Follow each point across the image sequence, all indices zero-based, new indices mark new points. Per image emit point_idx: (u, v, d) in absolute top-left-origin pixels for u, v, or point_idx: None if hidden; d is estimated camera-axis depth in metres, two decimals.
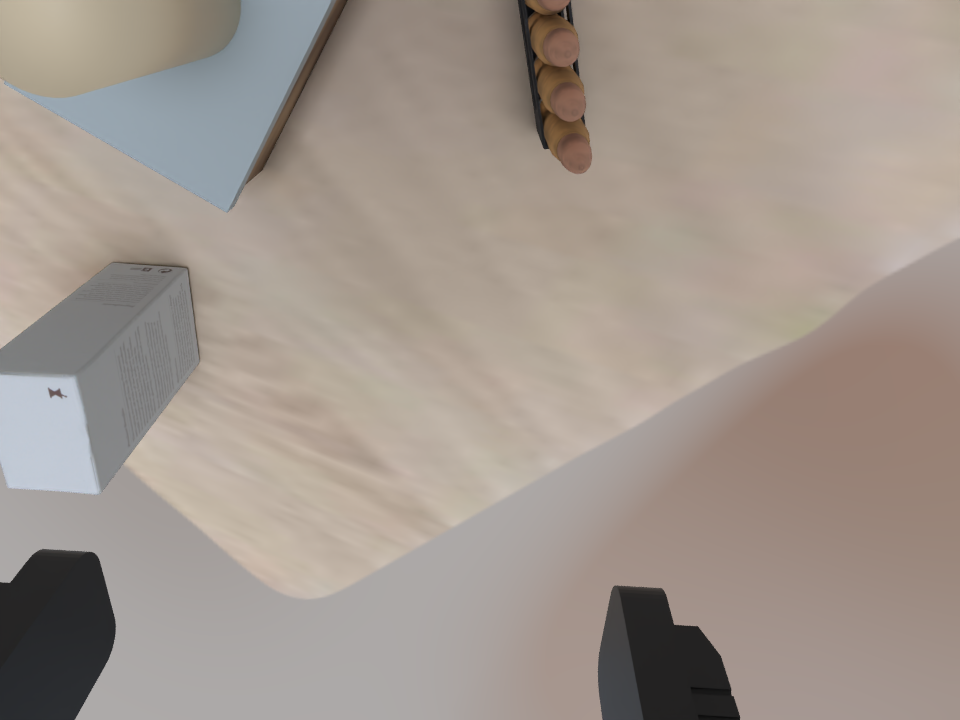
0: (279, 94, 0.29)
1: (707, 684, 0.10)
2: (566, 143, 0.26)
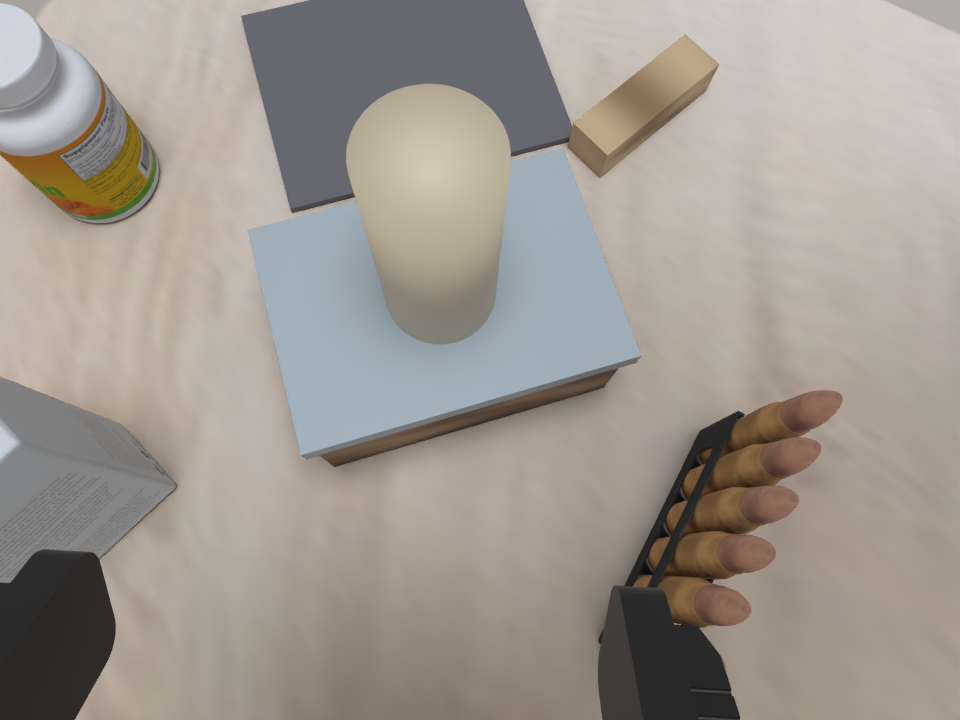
0: (444, 407, 0.28)
1: (707, 684, 0.10)
2: None
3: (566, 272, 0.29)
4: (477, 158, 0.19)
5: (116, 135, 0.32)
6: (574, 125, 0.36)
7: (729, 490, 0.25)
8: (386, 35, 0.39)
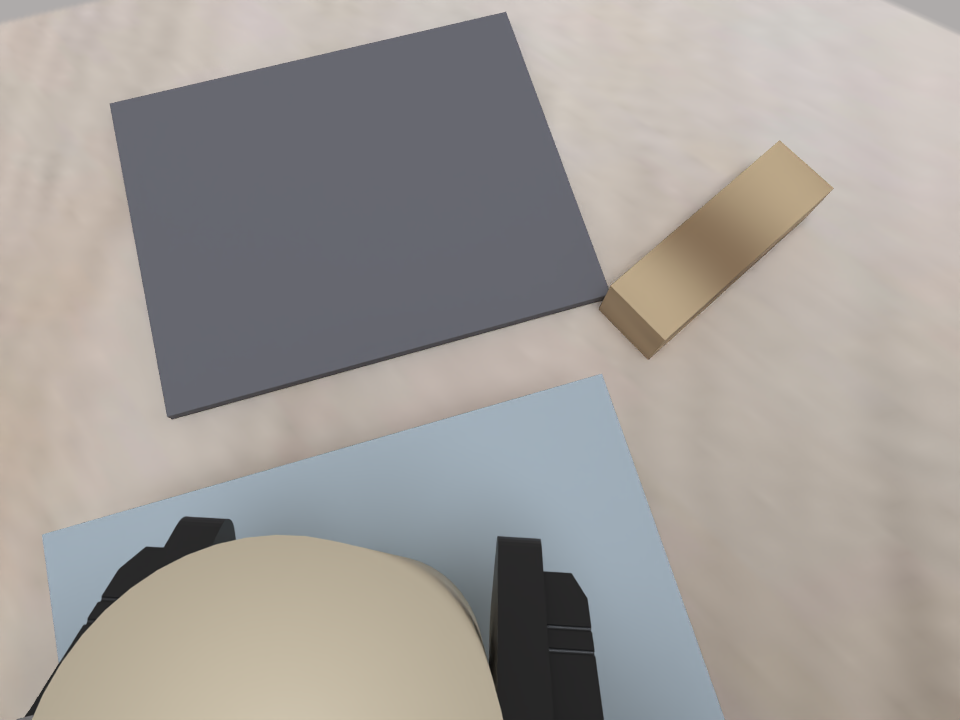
0: None
1: (570, 622, 0.10)
2: None
3: (611, 617, 0.16)
4: None
5: None
6: (612, 288, 0.23)
7: None
8: (326, 133, 0.26)
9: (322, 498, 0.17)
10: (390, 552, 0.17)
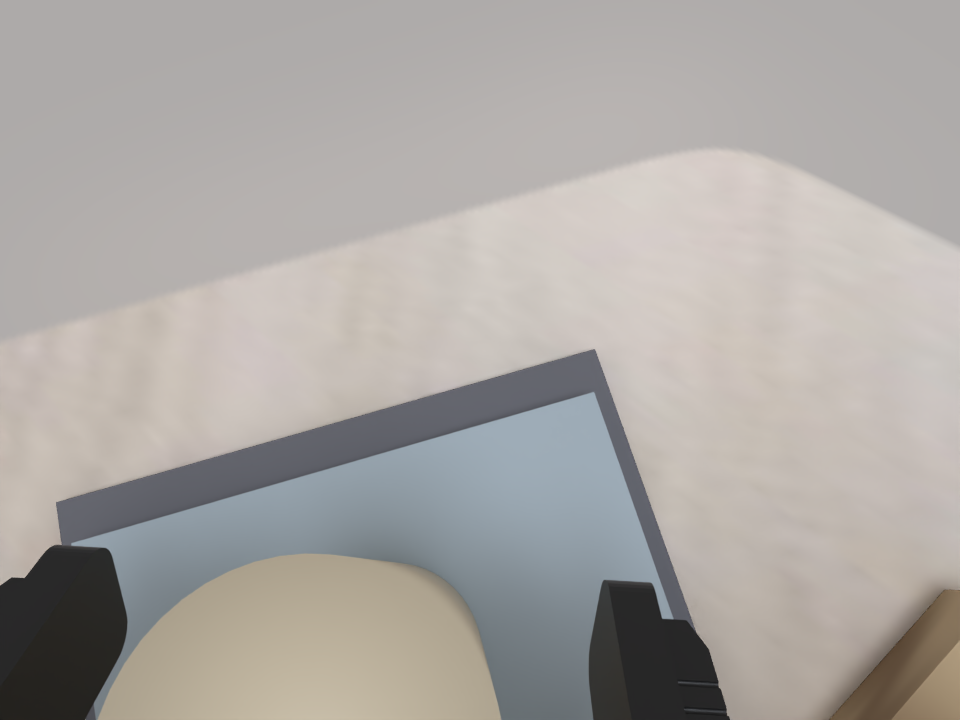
0: None
1: (694, 677, 0.10)
2: None
3: None
4: None
5: None
6: None
7: None
8: None
9: (332, 509, 0.18)
10: (396, 559, 0.18)
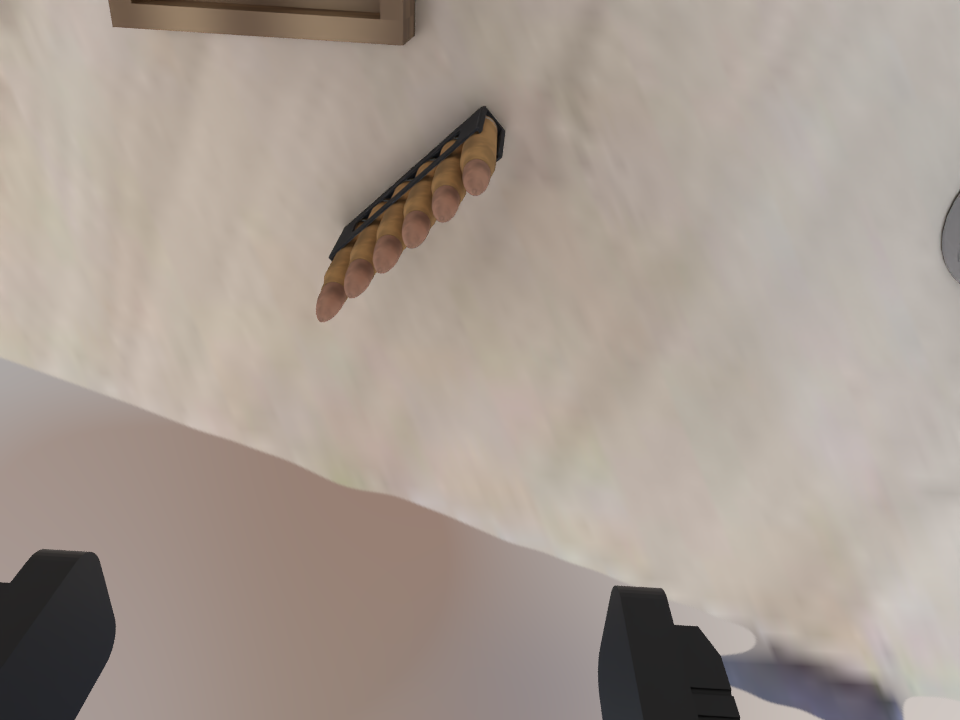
0: None
1: (707, 684, 0.10)
2: (332, 292, 0.33)
3: None
4: None
5: None
6: None
7: (416, 198, 0.33)
8: None
9: None
10: None
